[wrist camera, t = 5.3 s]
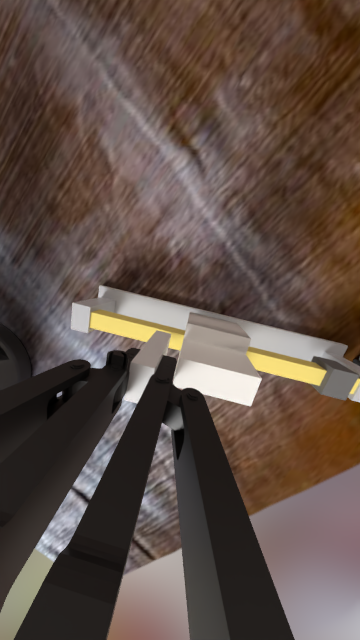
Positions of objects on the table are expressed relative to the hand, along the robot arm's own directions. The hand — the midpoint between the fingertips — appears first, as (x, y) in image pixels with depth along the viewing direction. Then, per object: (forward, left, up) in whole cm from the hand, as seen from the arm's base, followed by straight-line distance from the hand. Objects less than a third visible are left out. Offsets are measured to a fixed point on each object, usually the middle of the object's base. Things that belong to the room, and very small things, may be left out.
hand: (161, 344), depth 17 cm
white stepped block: (+5, 0, -5) cm, 7 cm away
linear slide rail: (+6, 0, -8) cm, 10 cm away
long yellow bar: (+7, 0, -4) cm, 8 cm away
